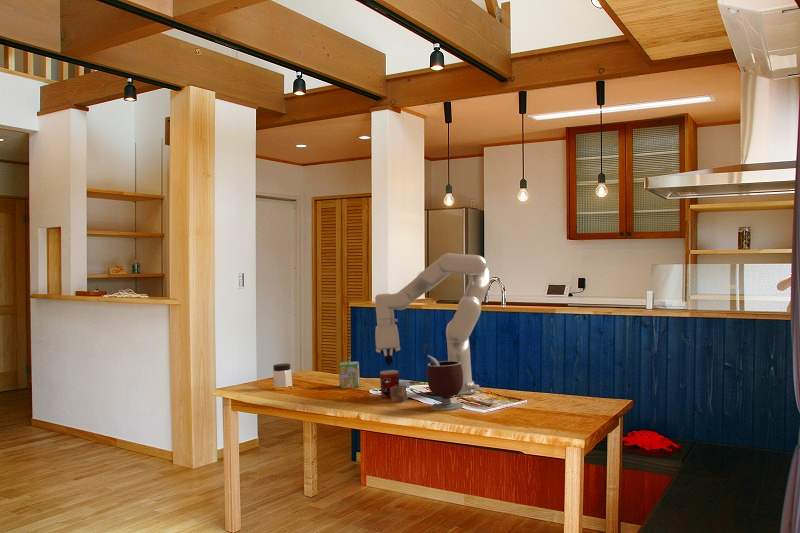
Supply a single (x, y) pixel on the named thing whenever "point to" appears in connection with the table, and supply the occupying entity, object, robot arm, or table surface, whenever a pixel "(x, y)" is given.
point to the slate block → (404, 383)
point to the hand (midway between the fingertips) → (389, 364)
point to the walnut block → (398, 393)
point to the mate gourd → (445, 382)
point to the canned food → (388, 382)
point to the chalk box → (349, 374)
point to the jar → (282, 375)
